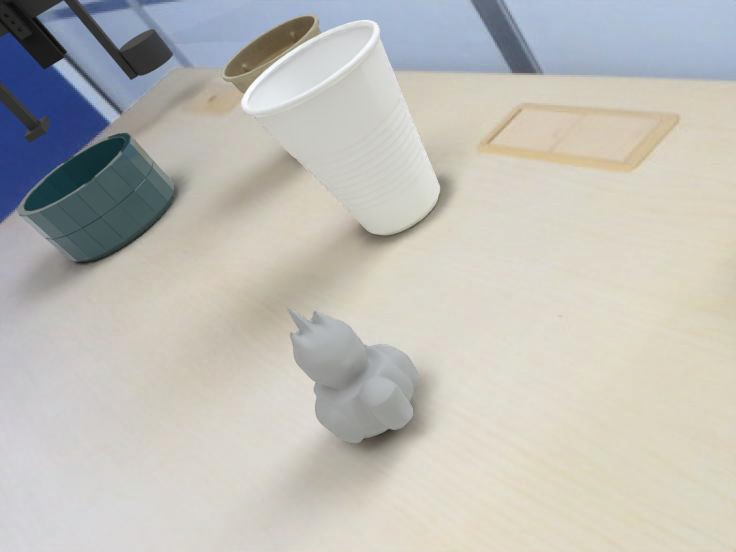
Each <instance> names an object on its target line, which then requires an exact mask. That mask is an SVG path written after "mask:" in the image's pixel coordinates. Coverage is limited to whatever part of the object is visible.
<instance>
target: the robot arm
mask: <svg viewBox="0 0 736 552" xmlns="http://www.w3.org/2000/svg"><path fill="white" fill-rule="evenodd" d="M0 22H1V24H2V25H3V26H4V27H5V28H6V29H7V30H8V31H9V33H10V35H11V36H12V37H13V38H14V39H15V40H16V41H17V42H18V43H19V44H20V46H22V48H23V49H24V50H25V51H26V52H27V53H28V54H29V55H30V56H31V58H33V59H34V61H35V62H36V63H37V64H38V65H39V67H41V69H43V70H44V71H45V70H46V69H48V68H50V67H51V66H53V65H55V64H56V63H58V62H60V61H62V60H64V59H65V54H67V53H68V51H67V50H66V49H65V47H64V46H63V45H62V44H61V43H60V41H59V40H58V39H57V38H56V37H55V36H54V35H53V33H52V32H51V31H50V30H49V29H48V28H47V27H46V26H45V25H44V24H43V23H42V21H41V20H40V19H39V18H38V16H36V17H35V18H33V19H31V18H30V17H29V16H28V14H27V13H26V12H25V11H24V10H23V9H22V8H21V7H20V5H19V4H18V3H17V2H16V1H15V0H12V1H10V0H0Z"/></svg>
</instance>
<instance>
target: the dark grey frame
mask: <svg viewBox="0 0 736 552" xmlns="http://www.w3.org/2000/svg"><path fill="white" fill-rule="evenodd" d="M10 1H12V0H10ZM15 1H16V2H17V3H18V4H19V5H20V7H21V8H22V9H23V10H24V11H25V12H26V13H27V14H28V16H29V17H30V18H31V19H33V18H35V17H38V16H40V15H42V14H43V13H44V12H47V11H49V10H50V9H52V8H53V7H55V6H57V5H59V4H61V3H62V2H64V3H66V5H67V6H68V7H69V9H70V10H71V11H72V12H73V13H74V15H75V16H76V17H77V18H78V19H79V21H80V22H81V23H82V24H83V25H84V26H85V27H86V29H87V30H88V31H89V33H90V34H91V35H92V36H93V37H94V38H95V40H97V42H98V43H99V44H100V45H101V47H102V48H103V49H104V50H105V51H106V53H107V54H108V55H109V56H110V57H111V58H112V60H113V61H114V62H115V63H116V65H117V66H118V67H119V68H120V69H121V70H122V72H123V73H124V74H125V75H126V76H127V78H128V79H129V80H130V81H132V80H134V79H136V78H138V77H142V76H143V77H144V76H145V75H148V74H150V73H152V72H154V71H156V70H158V69H159V68H161V67H162V66H163V65H165V64H166V63H167V62H168V61H169V60H170V59H171V58H172V57H173V56H174V52H173V51H172V50H171V49H170V47H169V46H168V45H167V43H166V42H165V41H164V39H163V38H162V37H161V36H160V34H158V32H157V31H156V30H155V28H151V29H148V30H145V31H143V32H141V33H139V34H138V35H135V36H134V37H132V38H131V39H129V40H128V41H127V42H126V43H124V44H123V45H122V46H120V48H118V47H117V45H116V44H115V43H114V42H113V41H112V39H111V38H110V37H109V35H107V33H106V32H105V31H104V29H102V27H101V26H100V25H99V24H98V23H97V21H96V20H95V19H94V17H93V16H92V15H91V14H90V13H89V12H88V11H87V9H86V8H85V6H83V5H82V3H81V2H80V1H79V0H15ZM9 33H10V32H9V31H8V30H7V29H6V28H5V27H4V26H3V25H2V24H1V22H0V38H2V37H4V36H6V35H8V34H9ZM0 102H1V103H2V104H3V106H4V107H6V108H7V110H8V111H10V113H11V114H12V115H13V116H14V117H15V118H16V119H17V120H18V121H19V122H20V123H22V124H23V126H25V128H26V131H25V134H24V136H23V139H25V140H26V141H27V142H28V143H29V144H30V143H32V142H34V141H35V140H37V139H39V138H40V137H42V136H45V135H46V134H47V133H48V132H49V131H48V130H49V128H50V126H51V123H52V121H51V120H50V118H48V117H47V115H45V116H42V117H41V118H40V119H38V118H37V117H36V116H35V115H34V114H33V113H32V112H31V111H30V110H29V109H28V108H27V107H26V106H25V105H24V104H23V103H22V102H21V101H20V100H19V99H18V97H17V96H15V95H14V93H12V91H11V90H10V89H9V88H8V87H7V86H6V85H5V84H4V83H2V81H1V80H0Z"/></svg>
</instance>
